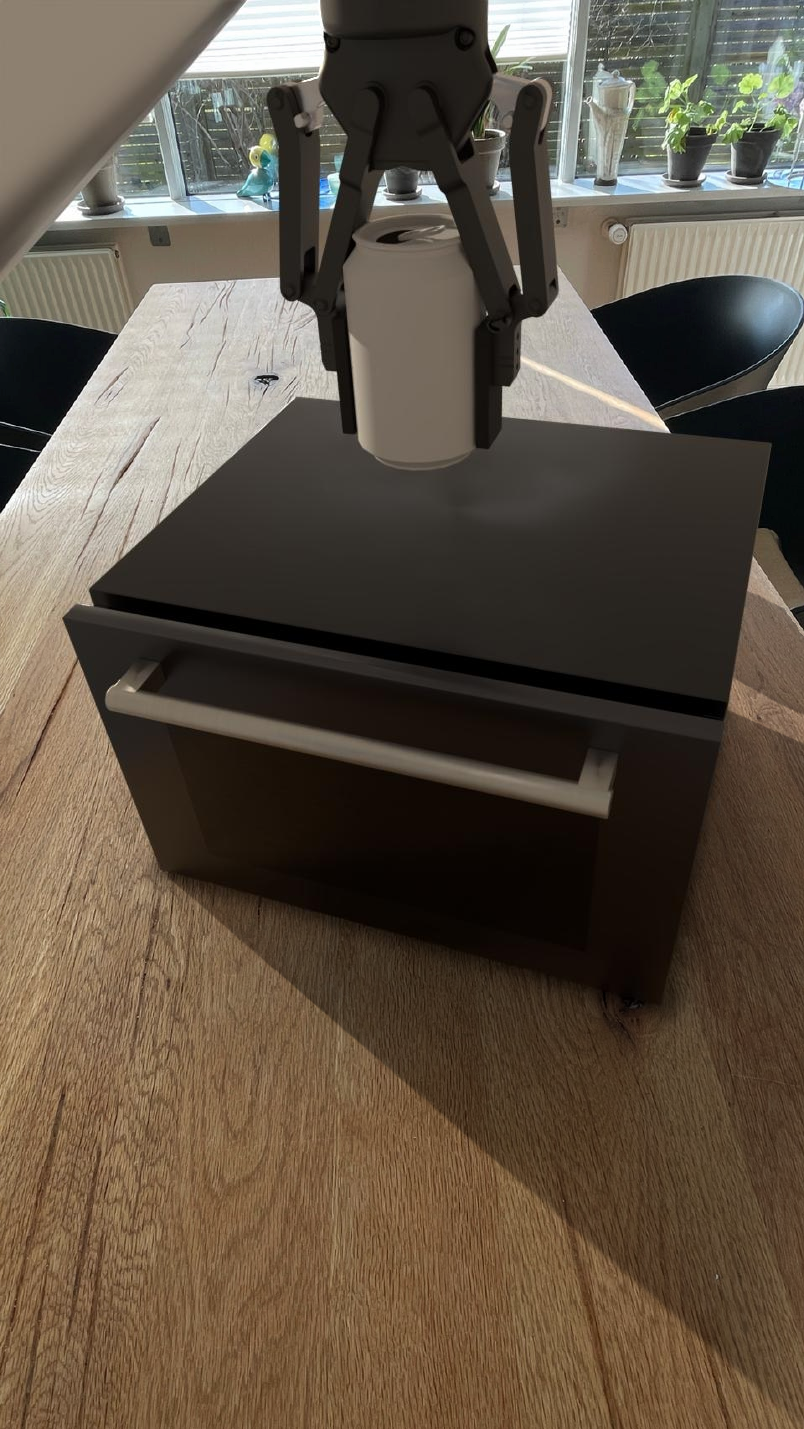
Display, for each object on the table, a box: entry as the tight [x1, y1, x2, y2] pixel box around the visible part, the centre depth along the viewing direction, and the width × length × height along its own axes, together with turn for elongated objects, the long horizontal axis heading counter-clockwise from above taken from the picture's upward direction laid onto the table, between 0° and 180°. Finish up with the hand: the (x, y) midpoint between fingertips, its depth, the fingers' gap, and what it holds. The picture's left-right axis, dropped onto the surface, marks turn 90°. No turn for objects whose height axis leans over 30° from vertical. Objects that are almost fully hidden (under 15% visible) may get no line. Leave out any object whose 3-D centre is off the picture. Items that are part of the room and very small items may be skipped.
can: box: [343, 212, 488, 470], centre depth 52 cm, size 8×8×12 cm
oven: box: [88, 396, 772, 723], centre depth 75 cm, size 32×40×26 cm
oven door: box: [61, 603, 726, 1006], centre depth 62 cm, size 5×40×26 cm, turn 70°
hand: (421, 430), depth 55 cm, fingers closed on can, 7 cm apart
